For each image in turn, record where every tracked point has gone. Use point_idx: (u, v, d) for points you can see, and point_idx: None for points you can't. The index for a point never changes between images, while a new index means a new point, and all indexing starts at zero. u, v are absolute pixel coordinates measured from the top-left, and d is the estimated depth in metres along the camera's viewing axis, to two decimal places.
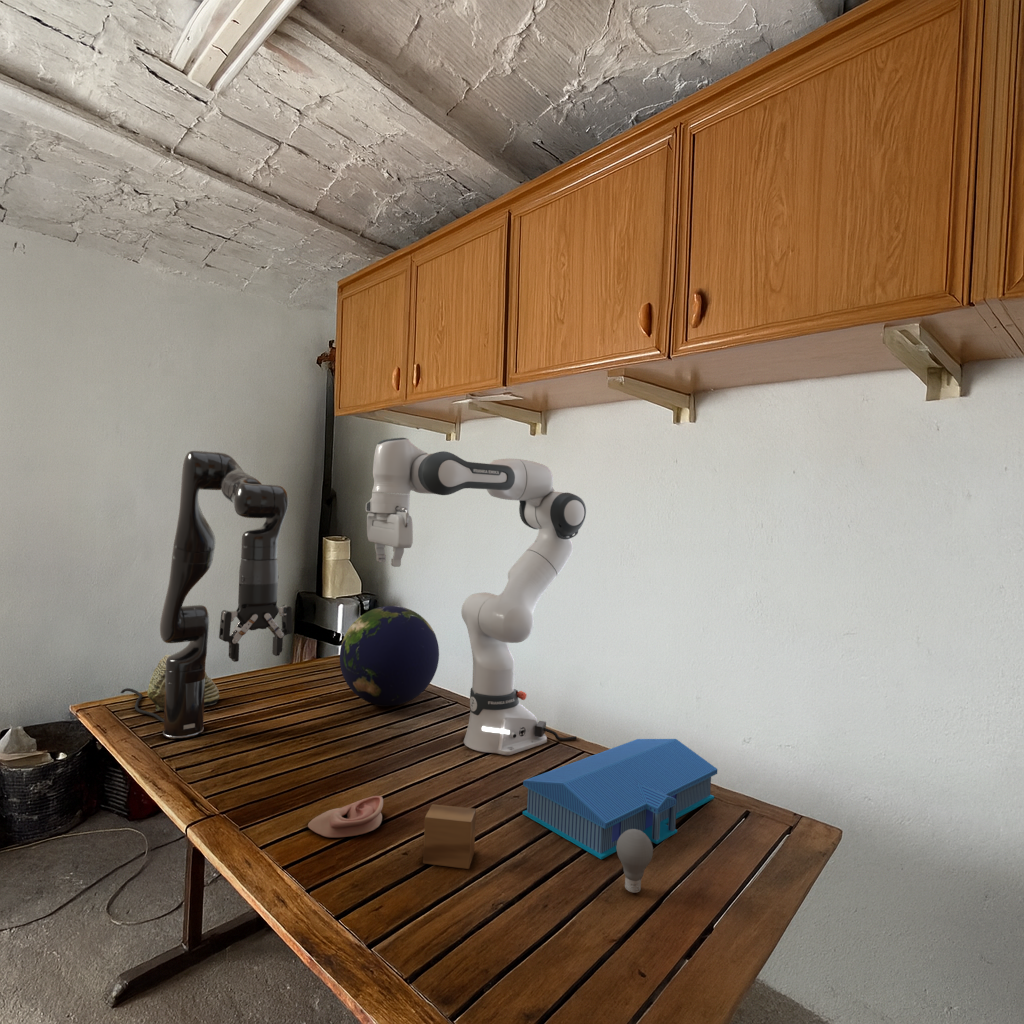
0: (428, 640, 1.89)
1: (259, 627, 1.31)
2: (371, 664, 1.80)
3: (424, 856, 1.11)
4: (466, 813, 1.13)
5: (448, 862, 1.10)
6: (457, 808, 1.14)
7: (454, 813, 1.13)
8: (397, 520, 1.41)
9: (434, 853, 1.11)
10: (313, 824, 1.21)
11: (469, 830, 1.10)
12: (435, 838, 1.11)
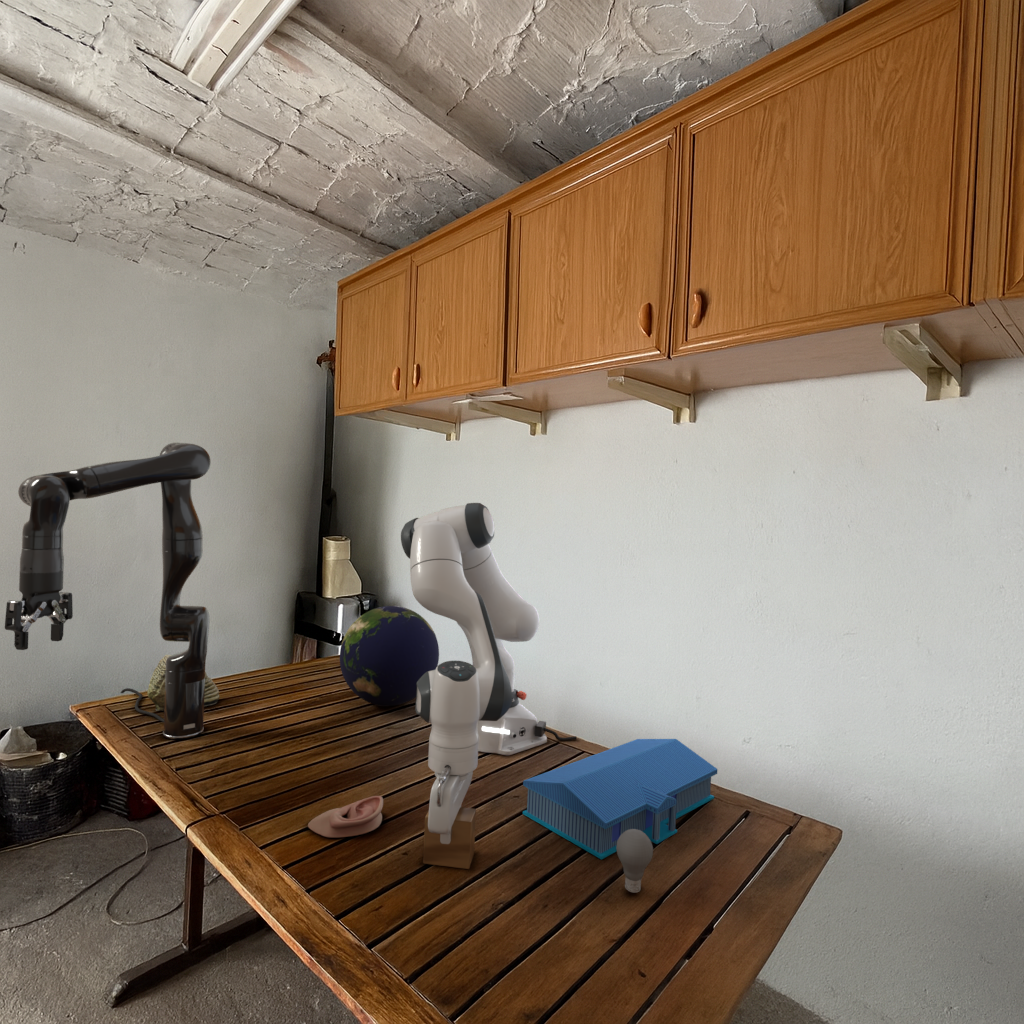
0: (428, 640, 1.89)
1: None
2: (371, 664, 1.80)
3: (424, 856, 1.11)
4: (466, 813, 1.13)
5: (448, 862, 1.10)
6: None
7: None
8: (430, 794, 1.04)
9: (434, 853, 1.11)
10: (313, 824, 1.21)
11: (469, 830, 1.10)
12: (435, 838, 1.11)
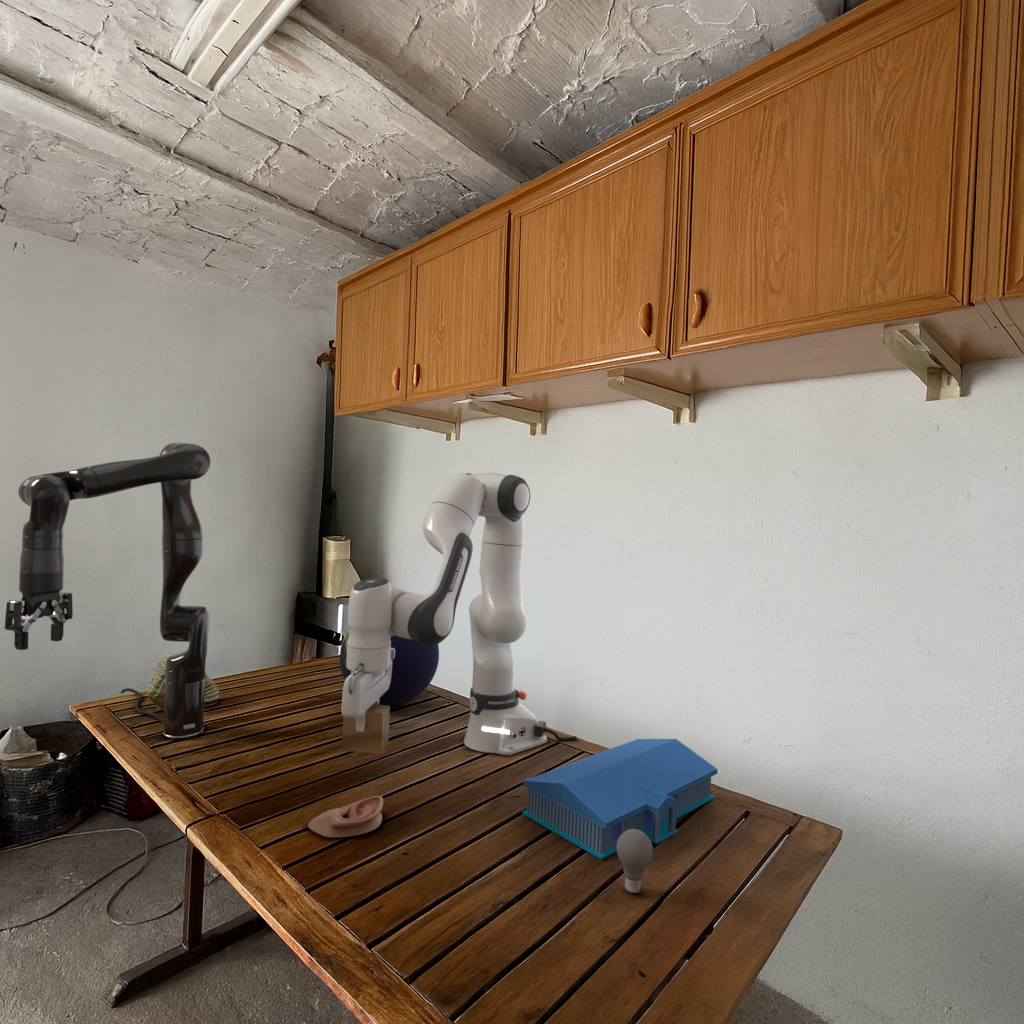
0: None
1: None
2: None
3: (343, 744, 1.28)
4: (380, 708, 1.30)
5: (363, 748, 1.28)
6: (373, 705, 1.32)
7: (370, 708, 1.30)
8: None
9: (352, 741, 1.28)
10: (313, 824, 1.21)
11: (381, 720, 1.27)
12: (352, 728, 1.28)
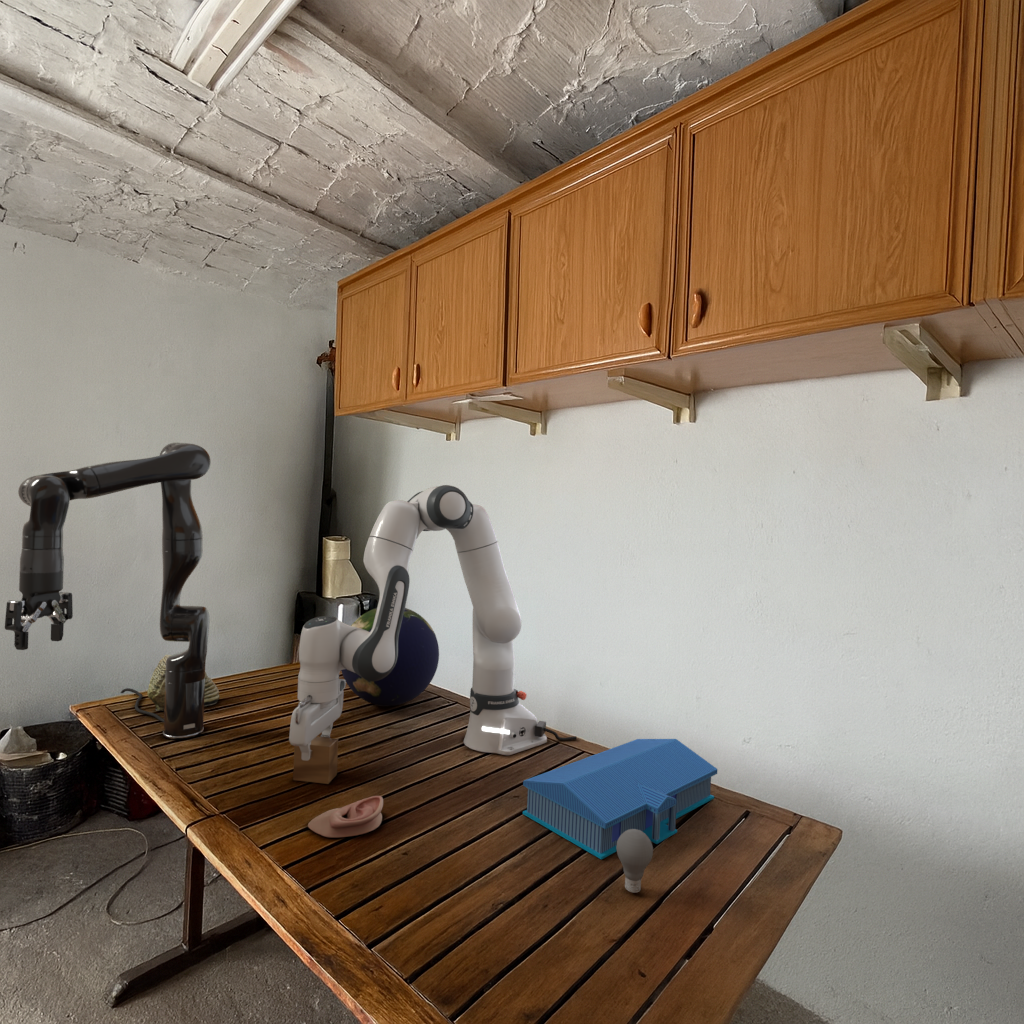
0: (428, 640, 1.89)
1: None
2: None
3: (294, 774, 1.41)
4: (328, 741, 1.42)
5: (312, 779, 1.40)
6: (323, 738, 1.44)
7: (319, 741, 1.42)
8: None
9: (301, 771, 1.41)
10: (313, 824, 1.21)
11: (328, 753, 1.40)
12: None
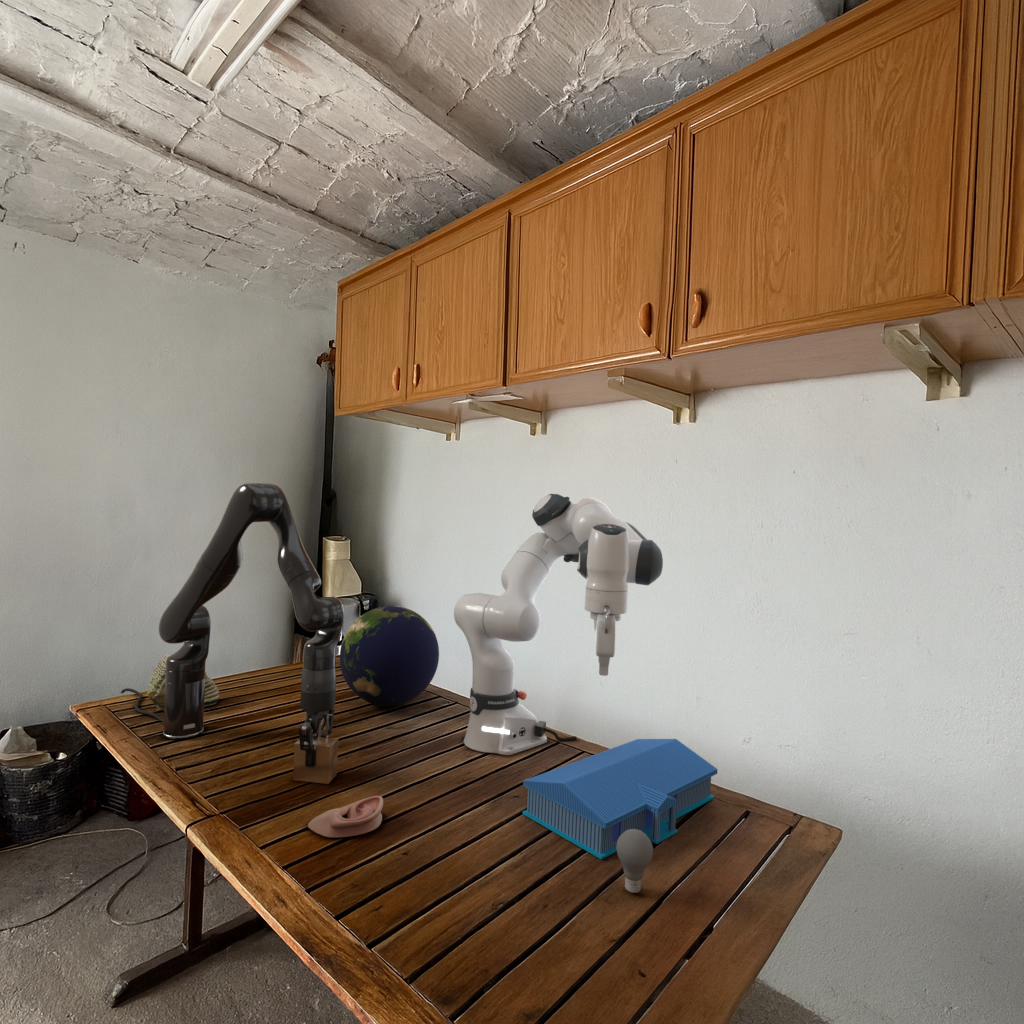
0: (428, 640, 1.89)
1: None
2: (371, 664, 1.80)
3: (294, 774, 1.41)
4: (328, 741, 1.42)
5: (312, 779, 1.40)
6: (323, 738, 1.44)
7: (319, 741, 1.42)
8: (597, 624, 1.23)
9: (302, 771, 1.41)
10: (313, 824, 1.21)
11: (328, 753, 1.40)
12: (302, 759, 1.40)
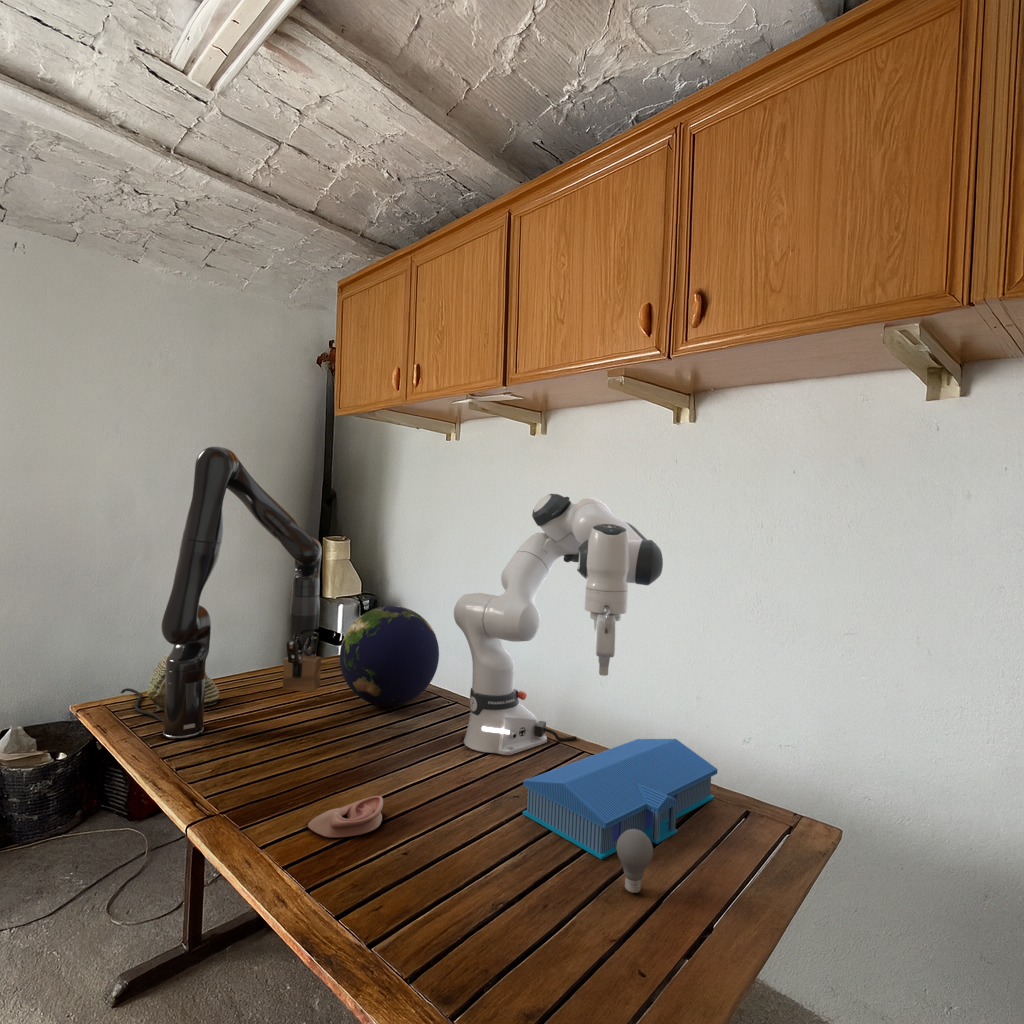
0: (428, 640, 1.89)
1: None
2: (371, 664, 1.80)
3: (283, 684, 1.68)
4: (313, 658, 1.70)
5: (298, 688, 1.68)
6: (308, 656, 1.72)
7: (305, 657, 1.70)
8: (597, 624, 1.23)
9: (290, 682, 1.68)
10: (313, 824, 1.21)
11: (312, 666, 1.67)
12: (290, 672, 1.68)
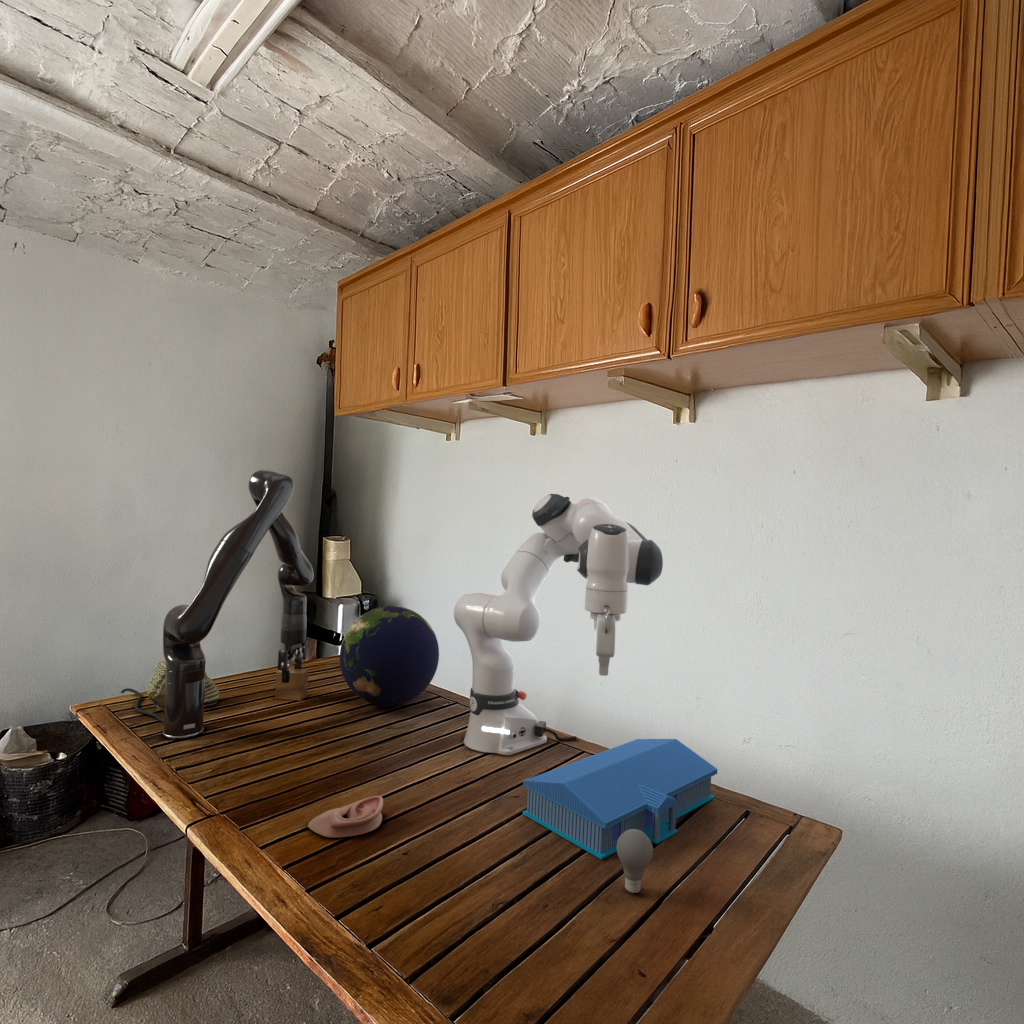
0: (428, 640, 1.89)
1: None
2: (371, 664, 1.80)
3: (275, 694, 1.95)
4: (301, 671, 1.97)
5: (289, 697, 1.95)
6: (297, 669, 1.99)
7: (294, 671, 1.97)
8: (597, 624, 1.23)
9: (281, 692, 1.95)
10: (313, 824, 1.21)
11: (300, 678, 1.94)
12: (282, 683, 1.95)
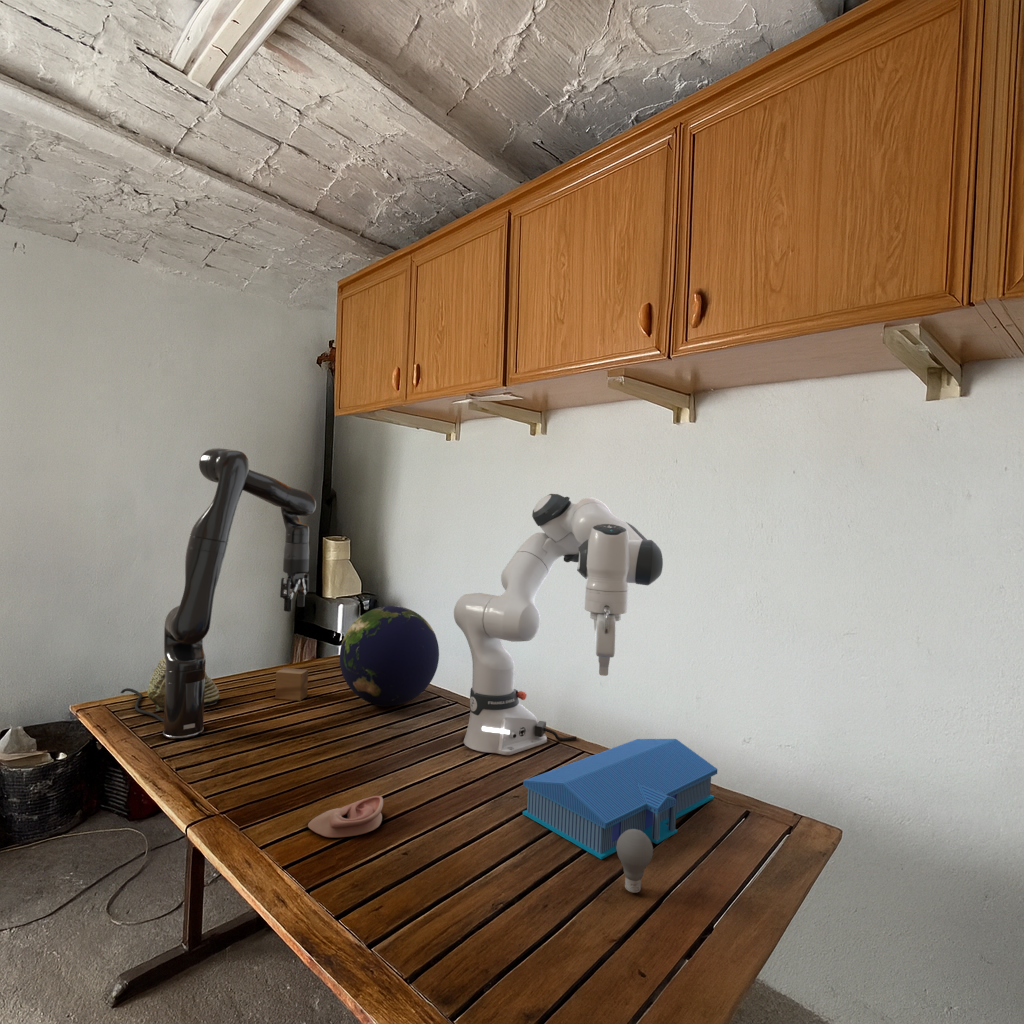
0: (428, 640, 1.89)
1: None
2: (371, 664, 1.80)
3: (275, 694, 1.95)
4: (301, 671, 1.97)
5: (289, 697, 1.95)
6: (297, 669, 1.99)
7: (294, 671, 1.97)
8: (597, 624, 1.23)
9: (281, 692, 1.95)
10: (313, 824, 1.21)
11: (300, 678, 1.94)
12: (282, 683, 1.95)
